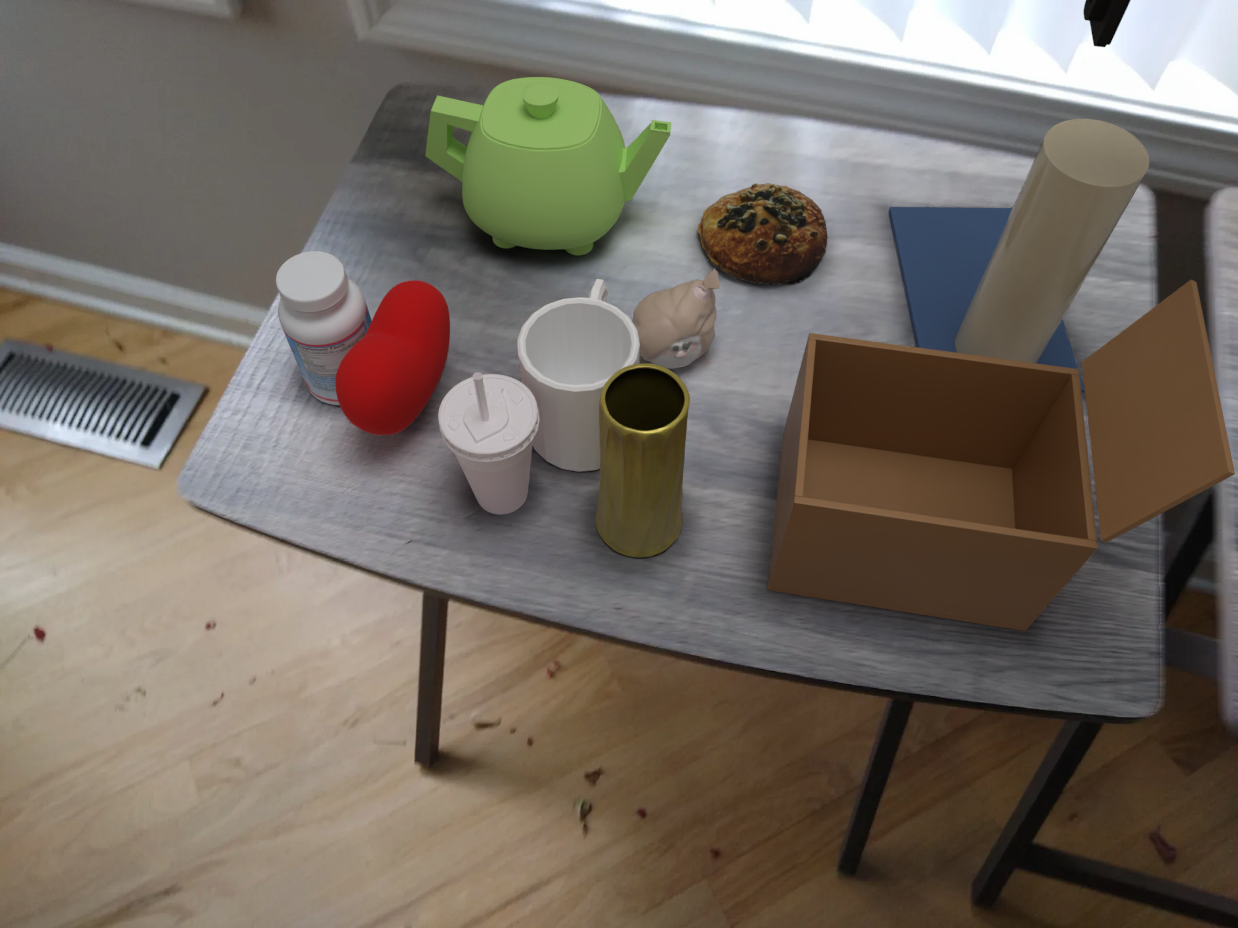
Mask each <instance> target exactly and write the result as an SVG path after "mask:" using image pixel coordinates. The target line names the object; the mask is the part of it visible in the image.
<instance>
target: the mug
mask: <svg viewBox="0 0 1238 928" xmlns="http://www.w3.org/2000/svg"><path fill="white" fill-rule="evenodd" d="M608 294H609V290H608V287H607V284H606V282H605V280H604V279H600V278H596V279H595V281H594V283H593V284H592V287H591V289H590V291H589V293H588V297H584V296H581V297H569V298H562V299H558V300H556V301H552V302H550V303H547V304H544V306H542V307H540V308H538V309H537V310H535V312H533V313H531V314H530V316H529V317H528V318H527V319H526V321H525V322H524V323H523V325H522V326H521V328H520V330H519V334H518V337H517V341H516V343H517V344H516V345H517V354H518V362H519V363H518V364H519V371H520V381H521V383H523V384H524V385H525V386H526V387H527V388H528V389H529V390H530V391H531V392H532V394H533V396H534V397H535V400H536V403H537V408H538V411H539V418H540V421H539V426H538V431H537V433H536V435H535V436H534V438H533V444H532V448H533V449H534V451H535V452H536V453H537V454H538V455H539V456H540V457H541V458H542V459H543V460H544V461H546V462H547V463H549V464H551V465H553V466H555V467H557V468H558V469H559V468H560V469H562V470H566V471H573V472H579V473H580V472H589V471H590V472H591V471H597V470H600V426H599V401H600V396H601V392H602V390H603V387H604V385H605V383H606V382H607V381H608V379H609V378H610V377H611V376H612V375H613V374H614V373H615V372H617V371H618V370H620V369H622V368H624V367H626V366H629V365H635V364H640V356H641V355H640V343H639V337H638V331H637V329H636V327H635V326H634V324H633V322H632V319H631V318H630V316H629V315H627V314H626V313H624V312H623V310H621V309H620V308H618V307H617V306H616V305H613V304H611V303H609V302H608V297H609V295H608Z"/></svg>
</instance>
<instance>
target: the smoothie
mask: <svg viewBox="0 0 1238 928" xmlns="http://www.w3.org/2000/svg"><path fill="white" fill-rule="evenodd" d="M437 417H438V418H437V419H438V425H439V433H440V435H441V438H442V440H443V443H445V444H446V446H447V447H448V449H450V451H451V452H453V453H454V455H455V457H456V459H457V461H458V463H459V465H460V467H461V470H462V472H463V474H464V476H465V477H466V480H467V482H468V484H469V486H470V489H471V490H472V493H473V494H474V497H475V499H476V501H477V503H478V504H479V506H480V507H481V508H482V509H483V510H484V511H486V512H488V513H490V514H493V515H498V516H499V515H502V516H503V515H509V514H512V513H514V512H516V511H517V510H519V509H520V508H521V507H522V506H523V505H524V504H525V503H526V501H527V499H528V494H529V486H530V485H529V483H530V476H531V475H530V474H531V463H532V454H533V445H532V444H533V438H534V436H535V435H536V433H537V431H538V426H539V421H540V418H539V411H538V408H537V403H536V400H535V397H534V396H533V394H532V392H531V391H530V390H529V389H528V388H527V387H526V386H525V385H524V384H523V383H522V381H521V380H518V379H516V378H514V377H511V376H509V375H504V374H499V373H484V374H482V372H474V373H473V375H472V376H471V377H468V378H466V379H464V380H462V381H460V382H459V383H457V384H455V385H454V386H453V387H452V388H451V389H450V390H449V391H447V393H446V395H444V397H443V399H442V401H441V403H440V405H439V409H438V413H437Z"/></svg>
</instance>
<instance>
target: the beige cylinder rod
mask: <svg viewBox="0 0 1238 928" xmlns="http://www.w3.org/2000/svg"><path fill="white" fill-rule="evenodd" d="M1149 167H1150V157H1149V153H1148V151H1147V148H1146V147H1145V146H1144V144H1143V143H1142V142H1141V141H1140V140H1139V138H1137V137H1136V136H1135V135H1133V134H1132V133H1131V132H1129V131H1127V130H1126V129H1124V128H1122V127H1121V126H1118V125H1116V124H1113V123H1111V122H1107V121H1104V120H1100V119H1093V118H1074V119H1067V120H1064V121H1060V122H1058V123H1057V124H1055V125H1053V126H1052V127H1050V128H1049V129H1048V131H1047V132H1046V133H1045V135H1044V137H1043V139H1042V141H1041V143H1040V146H1039V148H1038V151H1037V153H1036V155H1035V157H1034V159H1033V161H1032V164H1031V166H1030V169H1029V170H1028V172H1027V174H1026V177H1025V178H1024V179H1025V180H1024V181H1023V184H1022V186H1021V188H1020V190H1019V193H1018V196H1017V198H1016V199H1015V202H1014V204H1013V206H1012V207H1011V208H1012V211H1011V213H1010V215H1009V217H1008V220H1007V222H1006V224H1005V226H1004V229H1003V231H1002V233H1001V235H1000V237H999V240H998V242H997V244H996V246H995V249H994V251H993V253H992V255H991V258H990V260H989V262H988V264H987V267H986V269H985V271H984V273H983V275H982V278H981V280H980V282H979V284H978V287H977V289H976V291H975V293H974V296H973V298H972V300H971V302H970V305H969V307H968V309H967V311H966V313H965V316H964V318H963V320H962V322H961V325H960V327H959V329H958V331H957V334H956V337H955V348H956V351H957V353H962V354H970V355H977V356H984V357H992V358H999V359H1007V360H1014V361H1021V362H1029V363H1036V364H1037V362H1038V361H1039V359H1040V357H1041V355H1042V354H1043V352H1044V350H1045V349H1046V347H1047V345H1048V343H1049V342H1050V340H1051V338H1052V336H1053V335H1054V333H1055V331H1056V329H1057V328H1058V326H1059V324H1060V322H1061V321H1062V320H1064V316H1066V314H1067V312H1068V310H1069V308H1070V307H1071V305H1072V303H1073V302H1074V300H1075V298H1076V296H1077V295H1078V293H1079V292H1080V290H1081V288H1082V286H1083V284H1084V283H1085V281H1086V279H1087V277H1088V275H1089V274H1090V272H1091V270H1092V268H1093V267H1094V265H1095V263H1096V261H1097V259H1098V258H1099V256H1100V255H1101V253H1102V251H1103V249H1104V247H1105V246H1106V244H1107V242H1108V240H1109V239H1110V237H1111V235H1112V234H1113V233H1114V230H1115V228H1116V226H1117V225H1118V223H1119V222H1120V219H1121V218H1122V216H1123V214H1124V213H1125V211H1126V209H1127V207H1128V205H1129V203H1131V200H1132V199H1133V197H1134V195H1135V193H1136V192H1137V191H1138V188H1139V187H1140V185H1141V183H1142V181H1143V179H1144V178H1145V176H1146V174H1147V172H1148V170H1149V169H1150V168H1149Z"/></svg>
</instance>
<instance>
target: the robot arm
mask: <svg viewBox="0 0 1238 928" xmlns="http://www.w3.org/2000/svg"><path fill="white" fill-rule="evenodd" d="M1130 3H1131V0H1085V1H1084V6H1083V19H1084V21H1088V22H1089V25H1090V31H1091V37H1092V44H1093V47H1098V48H1106V46H1107V45H1108V46H1110V45H1111V43H1112V41H1113V39H1114V37H1115V35H1116V33H1117V31H1118V28H1119V26H1120V25H1121V22H1122V20H1123V18H1124V16H1125V13H1126V11H1127V10H1128V7H1129V5H1130Z"/></svg>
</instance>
